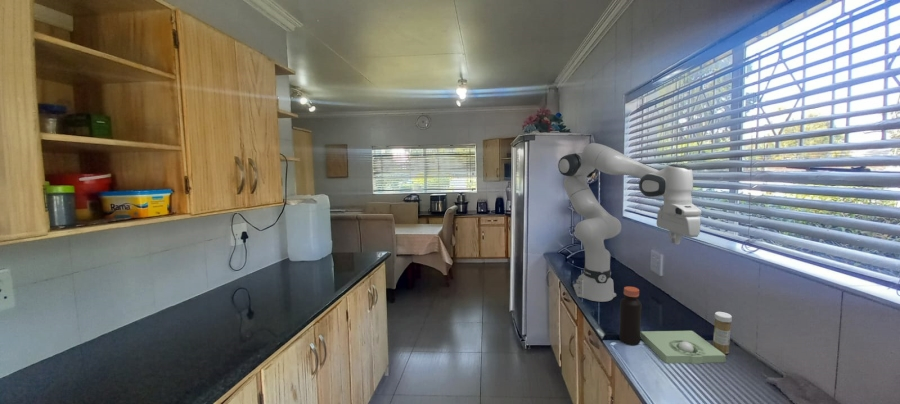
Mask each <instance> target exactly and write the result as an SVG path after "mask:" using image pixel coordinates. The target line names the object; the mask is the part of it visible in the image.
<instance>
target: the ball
mask: <svg viewBox="0 0 900 404" xmlns="http://www.w3.org/2000/svg"><path fill="white" fill-rule="evenodd" d="M678 348H679V350H682V351H684V352H688V353H693V351H694V348H693V346H692V345H691V344H690V343H689V342H686V341H683V342H681V343H680V344H679V346H678Z"/></svg>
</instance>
